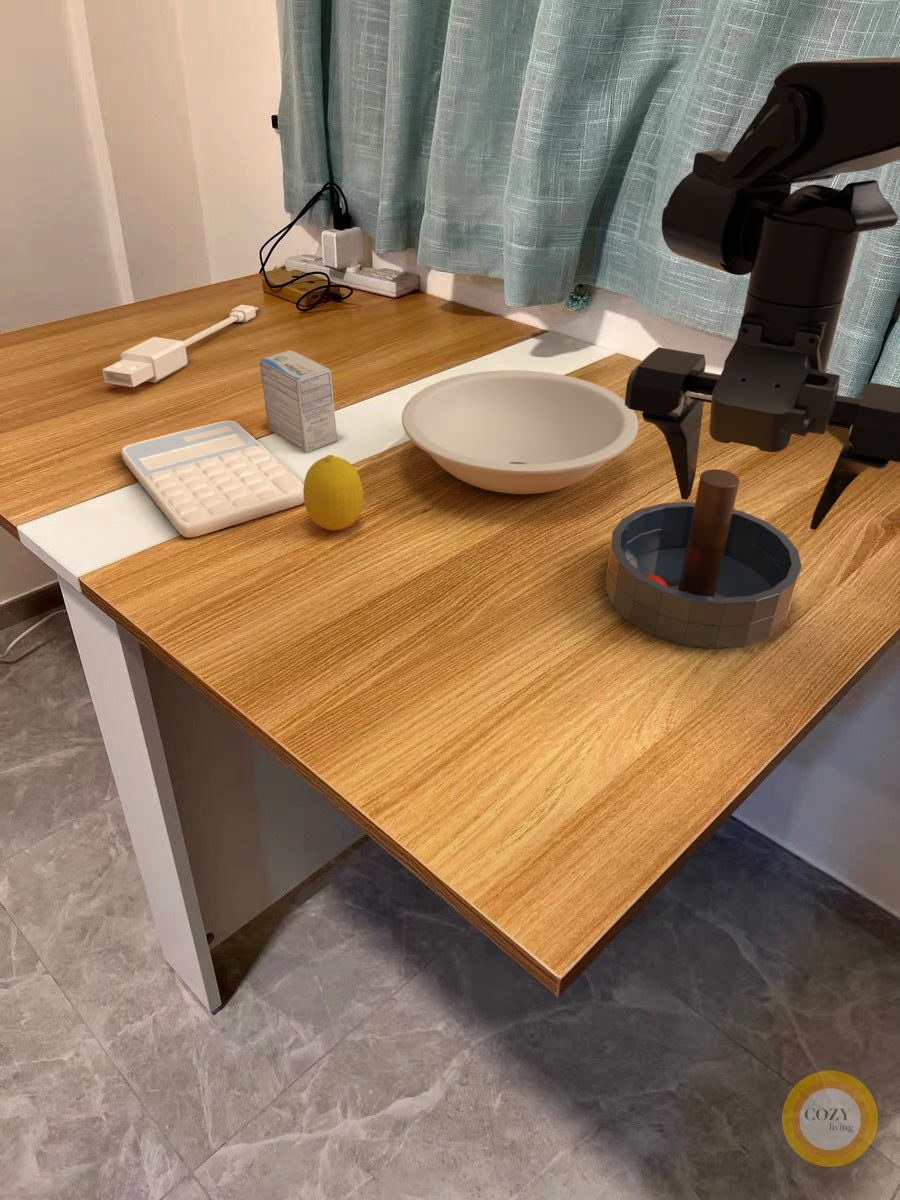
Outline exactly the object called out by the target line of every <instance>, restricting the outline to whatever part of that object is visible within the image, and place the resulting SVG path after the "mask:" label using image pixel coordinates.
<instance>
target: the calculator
mask: <svg viewBox="0 0 900 1200" xmlns="http://www.w3.org/2000/svg"><path fill="white" fill-rule="evenodd" d="M120 450H121V452H120V453H121V457H122V458H121V459H122V460H123V462H124V464H125V466H126V467H127V469H129V470H130V472H131V473H132V475H134V477H135V478H136V479H137V481H138V482H139V484H140V485H141V486H142V487H143V488H144V490H145V491H146V492H147V494H148V495H149V496H150V497H151V498H152V500H153V502H154V503H155V504H156V505H157V506H158V508H159V509H160V510H161V512H163V514H164V515H165V516H166V517H167V519H168V520H169V521H170V523H171V525H173V526H174V528H175V529H176V530H177V532H178V533H179V534H180V535H181V536H183V537H185V538H196V537H199V536H203V535H207V534H209V533H213V532H216V531H217V532H218V531H219V530H223V529H226V528H230V527H232V526H236V525H239V524H242V523H245V522H248V521H252V520H256V519H259V518H262V517H265V516H268V515H273V514H275V513H279V512H281V511H284V510H288V509H291V508H293V507H294V508H295V507H297V506H300V505H302V504H305V503H304V494H303V488H304V482H302V481H301V480H300V479H299V478H298V477H297V476H296V475H295V474H294V473H293V472H292V471H291V470H290V469H288V468H287V467H286V466H285V464H283V463H282V462H281V461H280V460H278V458H277V457H275V456H274V454H272V453H271V452H270V451H269V450H268V449H267V448H265V447H264V445H262V444H261V443H260V442H259V441H258V440H257V439H255V437H253V435H251V434H250V433H249V431H247V430H246V429H245V428H244V427H243V426H241V425H240V424H239V423H238V422H236V421H234V420H228V419H227V420H221V421H217V422H213V423H210V424H205V425H201V426H197V427H193V428H189V429H185V430H181V431H177V432H173V433H168V434H165V435H161V436H157V437H153V438H149V439H145V440H140V441H137V442H133V443H129V444H127V445H124V446H123V447H122V448H121V449H120Z"/></svg>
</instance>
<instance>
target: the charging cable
mask: <svg viewBox="0 0 900 1200" xmlns="http://www.w3.org/2000/svg"><path fill="white" fill-rule="evenodd" d="M258 310H259V307H258V306H257V307H256V306H253V305H248V304H247V305H246V304H240V305H238V306H236V307H234V308H232V309H230V313H229V314H228V317H227V318H226V319H223V320H221V321H219V322H217V323H215V324H213V325H211V326H209V327H207V328H205V329H204V330H201V331H200V332H198V333H195V334H194V335H192V336H190V337H188V338H186V339H184V340H179V339H171V338H164V337H157V336H152V337H150V338H148V339H147V340H145V341H143V342H140V343H138V344H137V345H134V346H132V347H130V348H128V349H126V350H124V351H122V352H121V353H119V357H120V360H119V361H117V362H114V363H113V364H111V365H109V366H107V367H104V368H103V369H101V370H102V371H101V372H102V377H103V380H104V383H105V384H112V385H116V386H117V385H118V386H123V387H130V388H134V387H136V386H138V385H140V384H142V383H144V382H149V383H157V382H159V381H161V380H163V379H165V378H167V377H168V376H171V375H172V374H174V373H175V372H177V371H179V370H181V369H183V368H185V367H186V366H187V365H188V364H189V362H188V356H187V350H186V349H187V347H189V346H190V345H192V344H194V343H196V342H198V341H199V340H202V339H204V338H206V337H207V336H209V335H211V334H213V333H215V332H216V331H219V330H220V329H222V328H225V327H226V326H228V325H230V324H232V323H234V322H237V323H247V322H249V321H250V320H252V319H254V318H256V316H257V313H256V311H258Z"/></svg>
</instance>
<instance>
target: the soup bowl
mask: <svg viewBox="0 0 900 1200" xmlns="http://www.w3.org/2000/svg"><path fill="white" fill-rule="evenodd" d="M401 425H402V427H403V430H404V432H405V434H406V436H407V437H408V438H409V440H410V441H411V442H412V443H414V445H416V446H417V447H418V448H420V449H421V450H423V452H425V453H427V454H429V456H430V457H431V459H433V461H435V462H436V464H438V465H439V466H440V467H441V468H442V469H443V470H445V471H446V472H447V473H449V474H450V475H451V476H453V477H454V478H456V479H458V480H460V481H462V482H464V483H466V484H469V485H471V486H473V487H476V488H480V489H481V490H485V491H489V492H490V491H491V492H495V493H502V494H512V495H533V494H541V493H548V492H553V491H557V490H561V489H564V488H567V487H569V486H572V485H574V484H576V483H579V482H581V481H582V480H584V479H586V478H588V477H589V476H591V475H592V474H594V473H595V472H596V471H597V470H599V469H600V468H601V467H603V465H604V464H606V462H607V461H610V460H611V459H613V458H615V457H617V456H619V455H620V454H622V453H623V452H624V451H625V450H627V449H628V448H629V447H630V446H631V445H632V444H633V442H634V441H635V439H636V437H637V435H638V432H639V420H638V417H637V413H636V412H635V410H632V409H629V408H628V407H627V406H625V399H624V398H622V397H621V396H620V395H618V394H617V393H615V392H614V391H611V390H609V389H607V388H605V387H603V386H601V385H599V384H597V383H593V382H591V381H588V380H584V379H582V378H578V377H573V376H569V375H564V374H559V373H554V372H547V371H539V370H538V371H536V370H520V369H519V370H517V369H510V370H509V369H508V370H507V369H506V370H505V369H503V370H489V371H479V372H472V373H467V374H461V375H457V376H452V377H449V378H446V379H443V380H440V381H438V382H435V383H432V384H431V385H428V386H427V387H425V388H422V389H421V390H420V391H418V392H417V393H415V394H414V395H412V396H411V398H410V399H409V400H408V401H407V402H406V403H405V405H404V408H403V410H402V414H401Z"/></svg>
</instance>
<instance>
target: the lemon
mask: <svg viewBox="0 0 900 1200" xmlns="http://www.w3.org/2000/svg"><path fill="white" fill-rule="evenodd" d="M303 484H304V488H303V494H304V503H303V504H304V506H305V510H306V512H307V514H308V515H309V518H310V519H311V520H312V521H313V522H314V523H315V524H316V525H317V526H319V527H320V528H323V529H326V530H328V531H329V530H330V531H333V532H334V531H335V532H338V531H341V530H344V529H346V528H349V527H350V526H352V525H353V524H354V523H355V522H356V521H357V520H358V519H359V517H360V515H361V513H362V510H363V507H364V496H365V493H364V487H363V483H362V480H361V477H360V475H359V473H358V470H357V469H356V467H355V466H354V465H353V464H352V463H351V462H349V461H348V460H347V459H345V458H343V457H339V456H335V455H333V454H327V455H326V456H325V457H322V458H320V459H317V460H316V461H315V462H313V464H312V465H311V466H310V467H309V468H308V470H307V472H306V475H305V477H304V481H303Z"/></svg>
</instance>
